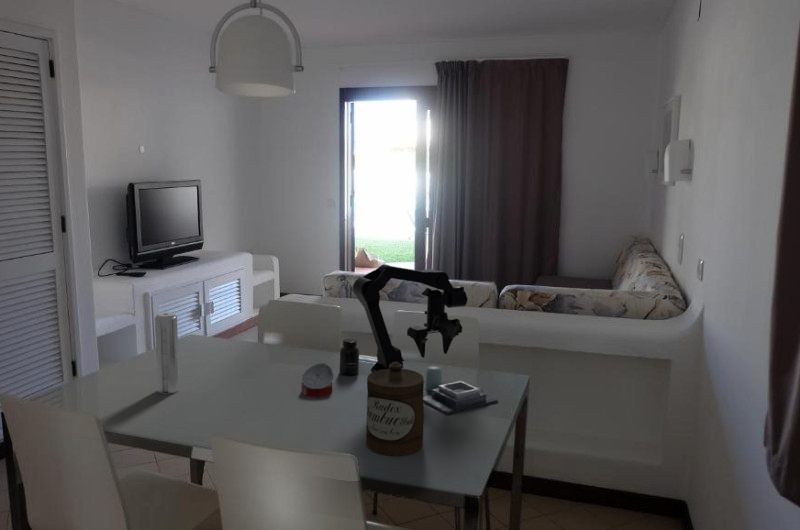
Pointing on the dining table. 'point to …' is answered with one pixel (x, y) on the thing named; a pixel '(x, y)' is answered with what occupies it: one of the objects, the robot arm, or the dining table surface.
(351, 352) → the supplement bottle
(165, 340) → the silver metal cylinder
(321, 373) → the canned food
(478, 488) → the dining table surface
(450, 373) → the dining table surface
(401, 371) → the wooden container
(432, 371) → the cylinder
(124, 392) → the dining table surface
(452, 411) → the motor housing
